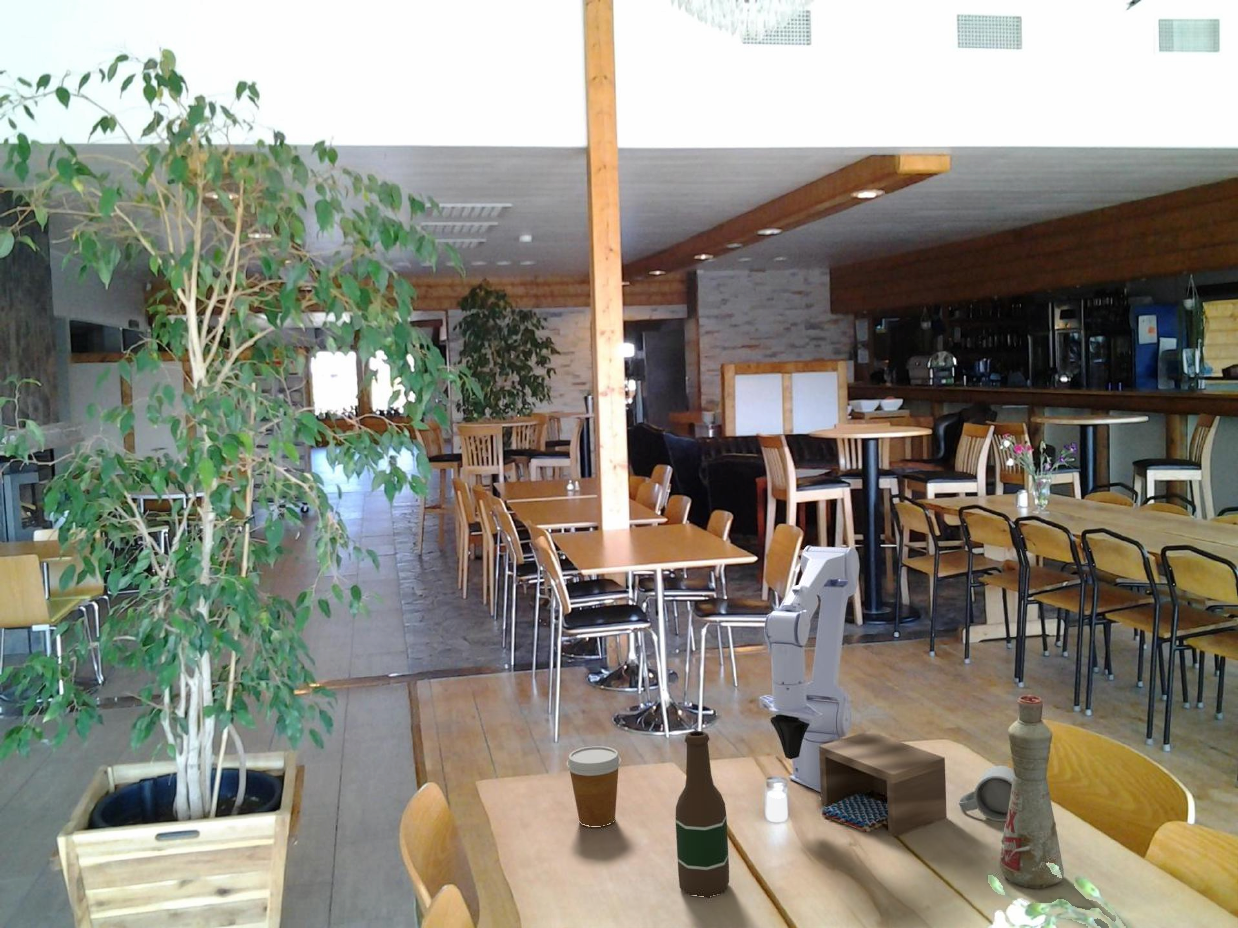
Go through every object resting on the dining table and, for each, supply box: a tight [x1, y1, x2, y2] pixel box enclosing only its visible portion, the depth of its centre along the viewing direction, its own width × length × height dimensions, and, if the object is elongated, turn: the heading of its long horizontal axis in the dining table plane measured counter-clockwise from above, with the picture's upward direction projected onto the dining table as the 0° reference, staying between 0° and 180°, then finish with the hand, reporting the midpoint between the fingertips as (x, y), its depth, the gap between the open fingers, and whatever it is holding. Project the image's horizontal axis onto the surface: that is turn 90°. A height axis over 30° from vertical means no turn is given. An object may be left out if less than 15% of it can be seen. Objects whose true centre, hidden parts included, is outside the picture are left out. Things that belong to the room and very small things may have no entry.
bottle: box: [998, 694, 1065, 889], centre depth 171 cm, size 9×9×28 cm
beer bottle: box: [675, 730, 730, 898], centre depth 174 cm, size 8×8×24 cm
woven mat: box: [821, 793, 888, 833], centre depth 198 cm, size 10×11×2 cm
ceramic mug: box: [958, 765, 1014, 822], centre depth 197 cm, size 11×8×8 cm
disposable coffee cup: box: [566, 745, 622, 826], centre depth 202 cm, size 10×10×12 cm
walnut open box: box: [819, 730, 948, 837], centre depth 199 cm, size 18×12×10 cm, turn 32°
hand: (792, 757), depth 199 cm, fingers closed
